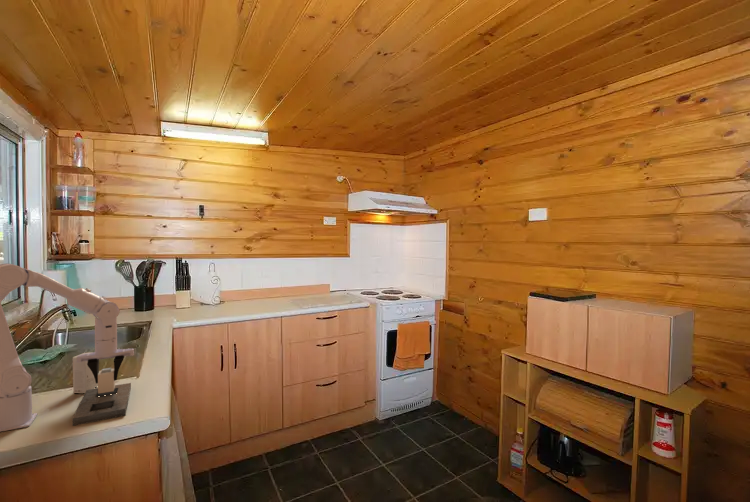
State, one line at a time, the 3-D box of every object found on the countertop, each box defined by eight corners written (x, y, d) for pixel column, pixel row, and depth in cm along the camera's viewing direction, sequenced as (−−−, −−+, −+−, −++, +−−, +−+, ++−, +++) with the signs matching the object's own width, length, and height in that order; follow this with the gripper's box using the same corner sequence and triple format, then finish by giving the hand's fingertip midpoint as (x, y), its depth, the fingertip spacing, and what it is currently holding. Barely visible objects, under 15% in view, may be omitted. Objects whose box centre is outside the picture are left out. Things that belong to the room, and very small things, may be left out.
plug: (98, 393, 115) (97, 372, 115) (99, 389, 118) (99, 368, 118) (113, 391, 117) (113, 369, 117) (115, 386, 120) (114, 366, 120)
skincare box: (86, 393, 121) (85, 357, 121) (72, 394, 121) (71, 357, 121) (99, 386, 127) (98, 351, 127) (85, 386, 127) (85, 352, 127)
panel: (72, 425, 101) (72, 418, 101) (86, 396, 120) (86, 390, 120) (125, 415, 107) (125, 408, 107) (130, 388, 126) (130, 382, 126)
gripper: (134, 333, 124) (134, 372, 125) (79, 338, 117) (80, 380, 117) (132, 337, 118) (133, 379, 119) (75, 344, 111) (75, 388, 111)
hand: (106, 380), depth 118 cm, fingers closed on plug, 4 cm apart
